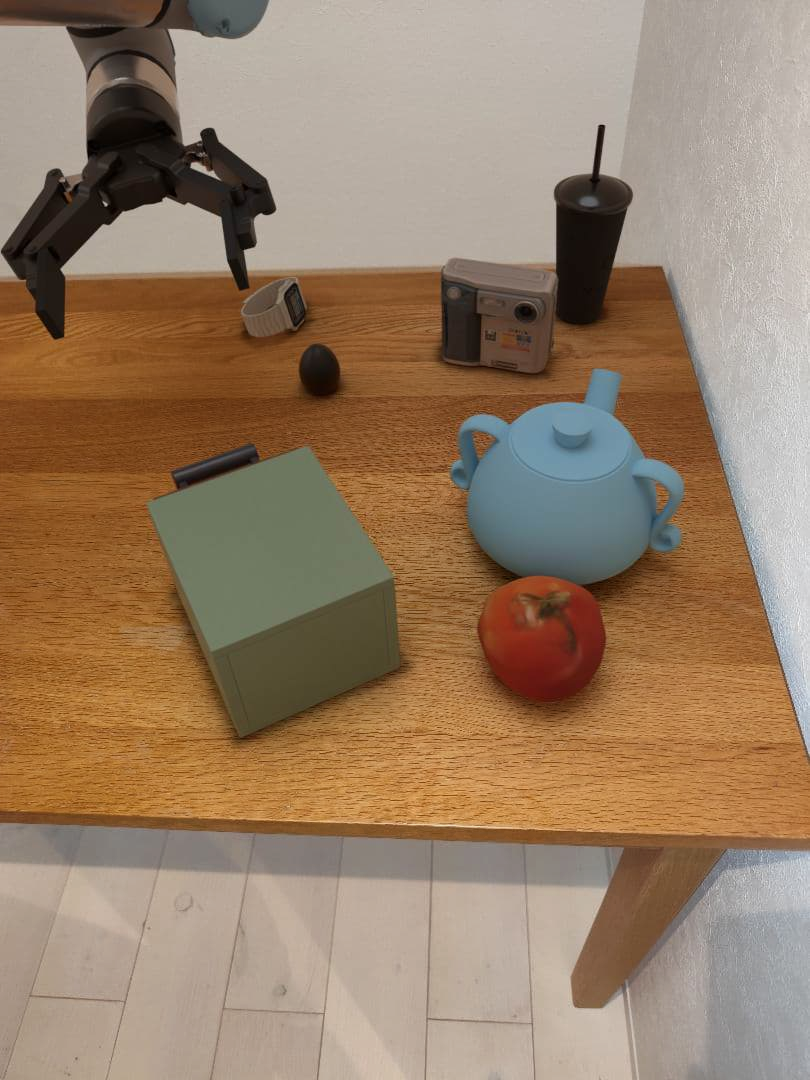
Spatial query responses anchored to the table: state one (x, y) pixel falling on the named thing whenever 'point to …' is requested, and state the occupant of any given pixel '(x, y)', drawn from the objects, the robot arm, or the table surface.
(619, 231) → the drinking cup
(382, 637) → the cabinet
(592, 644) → the tomato
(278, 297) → the wristwatch
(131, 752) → the table surface
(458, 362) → the camera
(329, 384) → the egg
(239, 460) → the drawer
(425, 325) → the table surface
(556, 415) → the teapot
